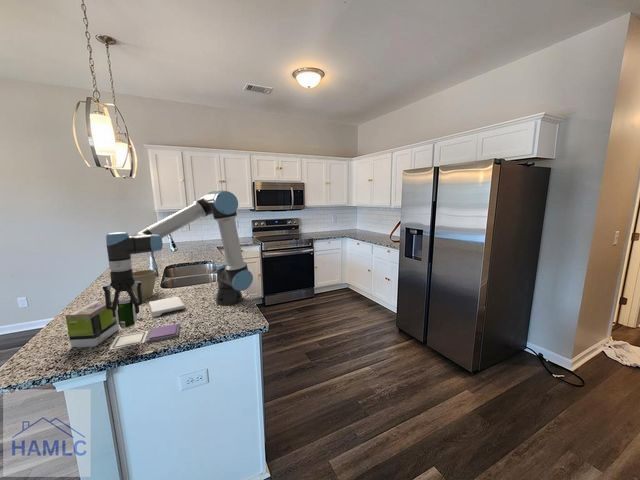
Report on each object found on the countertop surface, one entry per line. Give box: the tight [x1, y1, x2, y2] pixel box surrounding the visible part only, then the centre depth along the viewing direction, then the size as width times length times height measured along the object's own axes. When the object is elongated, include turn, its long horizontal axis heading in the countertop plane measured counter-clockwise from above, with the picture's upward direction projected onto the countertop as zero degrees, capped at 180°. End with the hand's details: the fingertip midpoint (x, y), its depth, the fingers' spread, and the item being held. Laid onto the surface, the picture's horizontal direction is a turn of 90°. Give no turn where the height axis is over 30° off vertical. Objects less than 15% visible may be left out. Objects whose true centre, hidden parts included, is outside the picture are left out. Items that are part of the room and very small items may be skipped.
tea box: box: [64, 300, 120, 348], centre depth 118 cm, size 15×10×15 cm
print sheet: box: [108, 330, 149, 351], centre depth 117 cm, size 12×12×1 cm
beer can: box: [117, 296, 136, 330], centre depth 115 cm, size 5×5×12 cm
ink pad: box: [145, 323, 181, 344], centre depth 122 cm, size 12×12×2 cm
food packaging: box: [148, 296, 186, 318], centre depth 151 cm, size 15×3×20 cm
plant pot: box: [132, 269, 157, 300], centre depth 168 cm, size 15×15×16 cm
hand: (127, 322), depth 116 cm, fingers closed on beer can, 5 cm apart
